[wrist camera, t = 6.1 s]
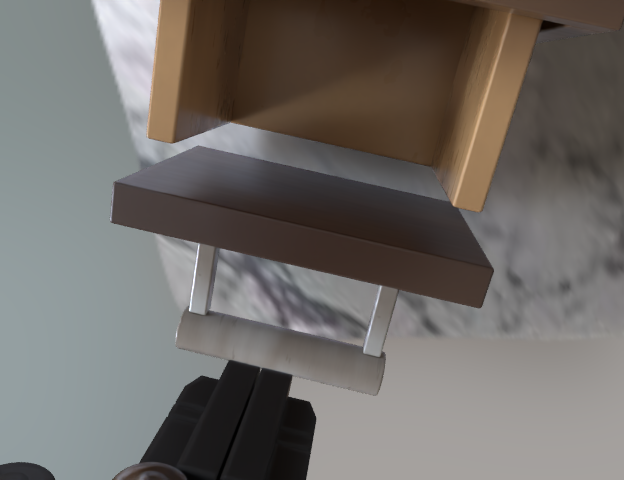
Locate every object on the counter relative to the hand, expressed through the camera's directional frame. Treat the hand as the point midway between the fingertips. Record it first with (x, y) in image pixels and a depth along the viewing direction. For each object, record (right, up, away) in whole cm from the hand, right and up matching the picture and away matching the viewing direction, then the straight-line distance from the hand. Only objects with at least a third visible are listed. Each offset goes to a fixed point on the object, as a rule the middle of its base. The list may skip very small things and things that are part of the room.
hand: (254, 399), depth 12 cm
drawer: (+2, +9, +8) cm, 12 cm away
